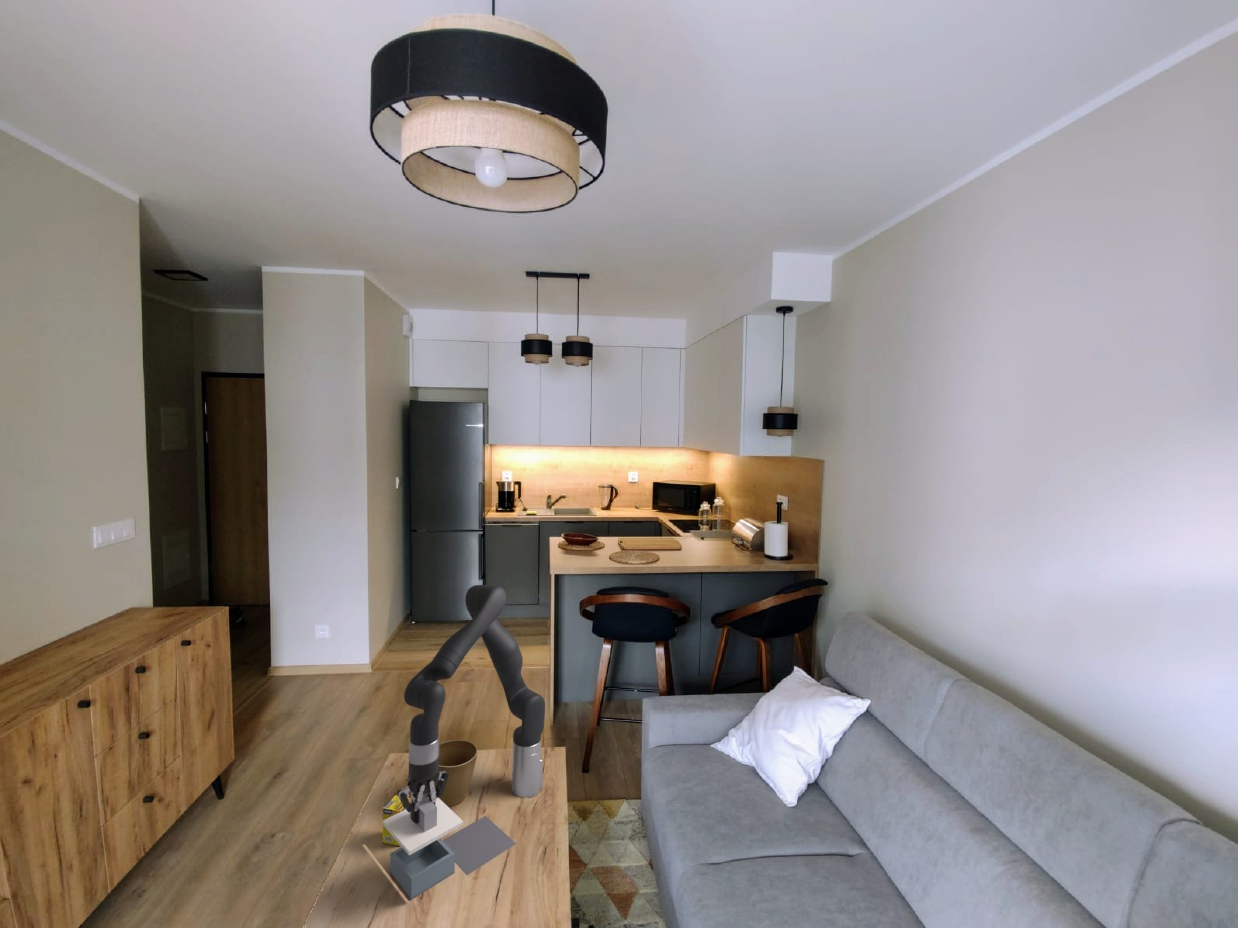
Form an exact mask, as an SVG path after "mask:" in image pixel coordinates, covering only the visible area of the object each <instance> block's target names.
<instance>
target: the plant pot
mask: <svg viewBox="0 0 1238 928" xmlns="http://www.w3.org/2000/svg"><path fill="white" fill-rule="evenodd" d="M478 752H479V751H478V746H477V745H476V744H475V743H473V742H472V741H469V740H464V739H452V740H447V741H443V742H441V743H439V770H438V771H439V772H441V770H445V771H446V772H447V773H448V774H449V776H448V779H447V782H446V785H445V788H444V791H443V795H442V796H441V797H438V798H439V799H440V800H441V801H442V802H443V803H445V804H446V805H447V806H448V807H449V808H451V807H456V806H459V805H460V804H461V803H462V802H463V801H464V800H465V797H466V796H467V794H468V793H467V792H468V790H469V788H470V784H471V781H472V779H473V774H474V770H475V766H476V762H477V756H478ZM437 781H438V780H437ZM436 784H437V782H436V783H435V785H434V786H435V787H436Z"/></svg>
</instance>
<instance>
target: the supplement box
mask: <svg viewBox="0 0 1238 928" xmlns="http://www.w3.org/2000/svg"><path fill="white" fill-rule="evenodd" d="M410 799H411V797H408V800H409V803H410ZM404 810H406V809H405V808H404V807H403V805H402V803H401V801H400V799H399V796H398V795H396V794H395V795H394V796H393V797H392V798H391V800H390V801H389V802H387V803H386V805H384V806H383V807H382V821H383V820H385V819H387V818H389V817H391V816H393V815H396V814H398V813H400V812H402V811H404ZM381 832H382V837H381V838H382V840H381V841H382V844H385V845H389V846H395V847H399V848H401V845H400V844H399V843H398V842H397V841H396V840H395V838H394V837H393V836H392V835H391V834H390V832H389V831H388V830H387V829H386V828H385V827H384V825H383V824H382V831H381Z"/></svg>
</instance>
